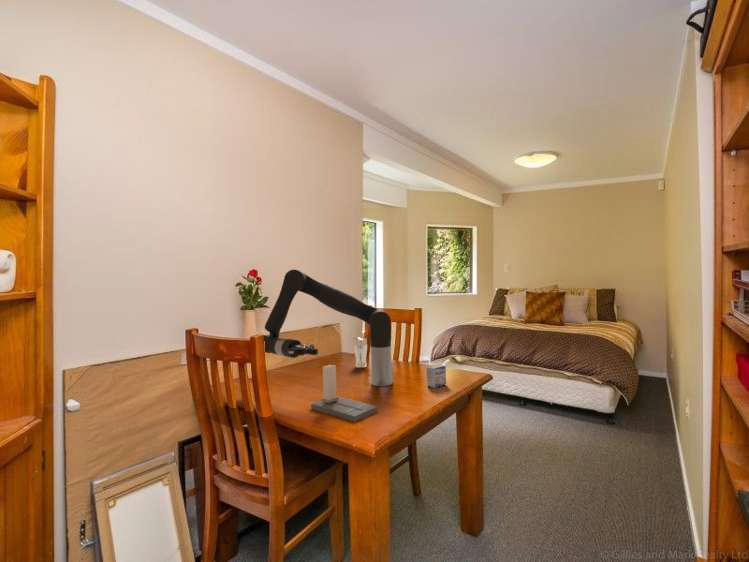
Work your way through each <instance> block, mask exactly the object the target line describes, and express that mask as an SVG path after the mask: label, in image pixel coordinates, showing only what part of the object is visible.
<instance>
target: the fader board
mask: <svg viewBox="0 0 749 562" xmlns="http://www.w3.org/2000/svg"><path fill="white" fill-rule="evenodd" d="M337 397H339V400H336V401H334V402H331V403H326V402H323V401H322V399H321V400H318V401H315V402H313V403H311V404H310V407H311V408H310V410H312V409H314V411H316V410H317V411H316V412H319V411H320V413H324V414H327V415H329V414H330V416H333V417H336V416H337V418H339V417H340V418H339V419H343V420H347V421H349V420H350V422H353V423H357V422H359V421H361V420H363V419H365V418H367V417H370V416H372V415H374V414H376V413H378V406H377V405H373V404H369V403H366V402H361V401H359V400H358V401H357V400H355V399H354V400H353V399H349V398H345V397H341V396H338V395H337ZM371 414H372V415H371ZM362 418H363V419H362ZM360 419H361V420H360ZM358 420H359V421H358Z"/></svg>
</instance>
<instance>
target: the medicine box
mask: <svg viewBox="0 0 749 562" xmlns="http://www.w3.org/2000/svg"><path fill="white" fill-rule="evenodd" d="M445 384H446V385H447V367H446V365H444V364H435V365H432V366H431V365H430V366H427V367H426V387H427V386H430V387H433V388H432V389H434V388H435V389H437V388H436V387H438V388H440V387H439V386H441V387H443V386H442V385H445ZM446 385H445V386H446ZM430 387H429V388H430Z"/></svg>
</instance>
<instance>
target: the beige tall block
mask: <svg viewBox="0 0 749 562" xmlns="http://www.w3.org/2000/svg"><path fill="white" fill-rule="evenodd" d="M322 386H323V387H322V388H323V390H322V393H323V397H322V398H321V400H322V401H323V402H326V403H331V402H334V401H336V400H339V397H340V396H338V395H337V391H338V388H337V365H334V364H328V365H324V366H322ZM337 396H338V397H337Z"/></svg>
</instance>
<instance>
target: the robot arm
mask: <svg viewBox="0 0 749 562" xmlns="http://www.w3.org/2000/svg"><path fill="white" fill-rule="evenodd" d="M298 292H300V293H304V294H306V295H309V296H311V297H313V298H314V299H316V300H317V301H318V302H320V303H322V305H324V306H326V307H328V308H330V309H332V310H334V311H336V312H339V313H341V314H343V315H347V316H351V317H354V318H357V319H359V320H361V321H363V322H365V323H366V324H367V325H369V333H370V334H369V336H370V342H369V343H370V345H369V346H370V371H371V372H370V373H371V374H370V375H371V377H370V378H371V380H370V381H371V385H372V386H374V387H387V386H390V385H392V384H393V383H394V375H393V374H394V372H393V371H394V369H393V368H394V367H393V366H394V365H393V363H394V362H393V361H392V322H391V321H392V319H391V317H390V315H389V314H388V312H387V311H386V310H383V309H381V308H377V307H373V306H371V305H368V304H366V303H364V302H363V301H361V300H359V299H357V298H356V297H354V296H353V295H351V294H349V293H348V292H345V291H344V290H341V289H339V288H337V287H334V286H331V285H329V284H327V283H324V282H320V281H318V280H316V279H314V277H313V278H312V277H311V276H310V275H308V274H306V273H305V272H304V271H302V270H299V269H295V268H294V269H290V270H289V271H287V272H286V273H285V274H284V279H283V281H282V285H281V289H280V292H279V295H278V298H277V300H276V301H275V303H274V306H273V308H272V310H271V312H270V313H269V316H268V318H267V320H266V322H265V324H264V330H266V331H267V332H268V333H269V335H264V334H262V335H263V336H264V341H265V352H264V353H266V354H273V355H278V356H282V357H286V358H292V359H295V358H298V357H299V356H304V355H306V356H307V355H311V356H316V355H318V354H319V349H318V348H315V345H314V344H313V343H312V344H310V345H309V344H304V343H302V342H301V341H300V340H298V339H295V338H287V337H284V338H283V337H280V331H281V329H282V327H283V325H284V323H285V321H286V319H287V316H288V313H289V310H290V307H291V304H292V302H293V300H294V298H295V297H296V295H297V294H298Z"/></svg>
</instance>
